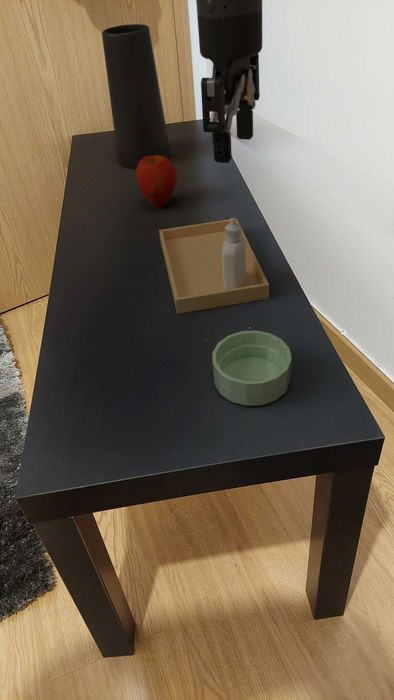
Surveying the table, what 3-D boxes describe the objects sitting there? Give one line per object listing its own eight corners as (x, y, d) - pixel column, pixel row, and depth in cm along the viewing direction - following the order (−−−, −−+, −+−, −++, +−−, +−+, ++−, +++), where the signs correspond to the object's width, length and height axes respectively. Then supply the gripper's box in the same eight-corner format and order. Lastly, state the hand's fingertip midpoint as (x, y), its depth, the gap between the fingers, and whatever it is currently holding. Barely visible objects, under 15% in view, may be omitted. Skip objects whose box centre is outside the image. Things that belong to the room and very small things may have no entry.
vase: (127, 148, 138) (106, 24, 119) (176, 148, 135) (162, 20, 116) (111, 169, 128) (85, 37, 109) (163, 169, 126) (146, 34, 106)
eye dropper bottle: (213, 286, 85) (209, 221, 77) (237, 272, 88) (235, 207, 80) (232, 296, 83) (229, 230, 75) (256, 281, 85) (255, 216, 77)
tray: (269, 298, 83) (269, 284, 81) (177, 314, 82) (175, 300, 80) (237, 231, 100) (236, 218, 98) (160, 242, 99) (158, 230, 97)
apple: (181, 196, 114) (176, 147, 106) (177, 214, 107) (171, 163, 100) (144, 197, 115) (136, 149, 108) (137, 215, 108) (129, 165, 101)
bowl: (298, 363, 71) (300, 339, 68) (277, 416, 64) (278, 391, 61) (229, 348, 75) (228, 324, 72) (203, 396, 68) (200, 372, 65)
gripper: (238, 19, 52) (242, 173, 63) (279, -5, 62) (276, 133, 73) (173, 20, 55) (188, 168, 66) (221, -2, 64) (227, 130, 75)
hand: (234, 149), depth 69 cm, fingers open, 8 cm apart
